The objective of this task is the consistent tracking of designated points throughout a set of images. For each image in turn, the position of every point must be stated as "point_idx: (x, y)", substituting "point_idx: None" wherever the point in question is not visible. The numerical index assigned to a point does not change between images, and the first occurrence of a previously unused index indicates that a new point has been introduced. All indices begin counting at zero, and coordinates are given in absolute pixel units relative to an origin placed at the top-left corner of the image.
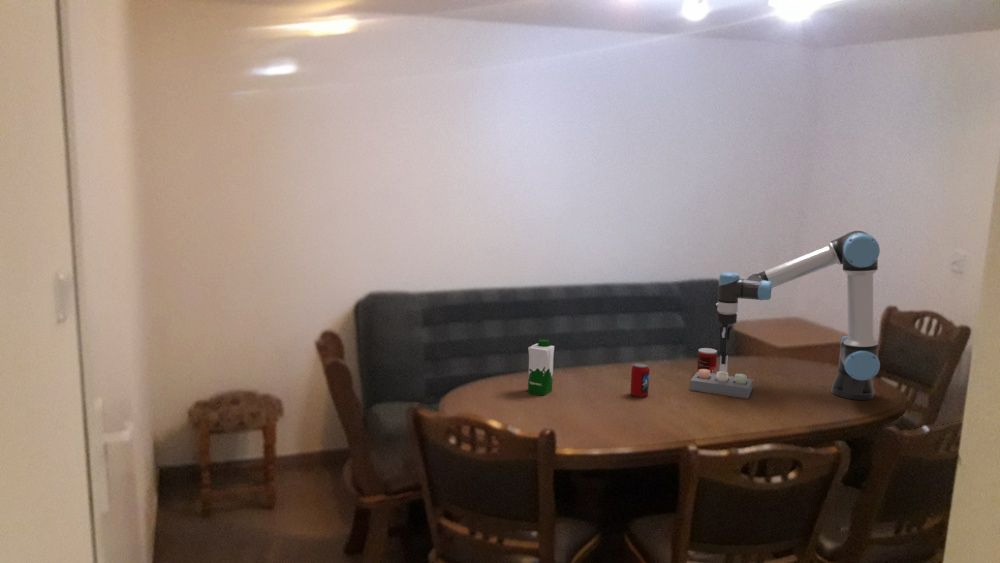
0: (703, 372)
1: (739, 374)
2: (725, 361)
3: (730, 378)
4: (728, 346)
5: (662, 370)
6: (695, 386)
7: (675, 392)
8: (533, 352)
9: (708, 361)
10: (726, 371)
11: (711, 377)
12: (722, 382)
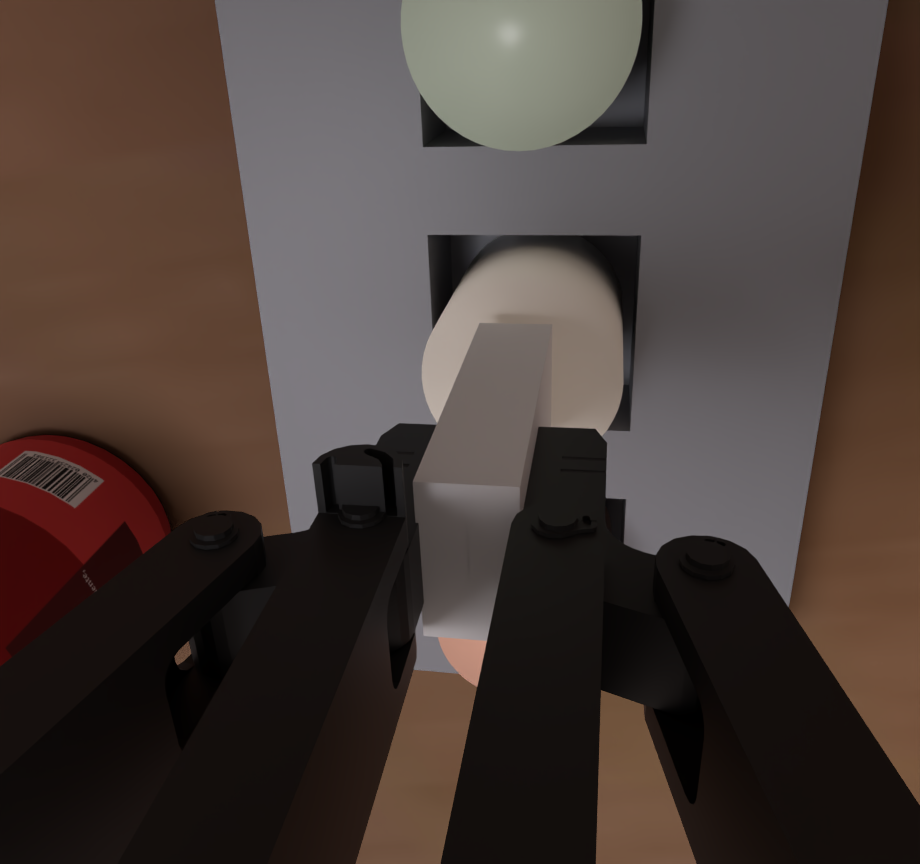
0: None
1: (464, 67)
2: (531, 449)
3: (384, 225)
4: (282, 648)
5: None
6: None
7: (912, 727)
8: None
9: (46, 629)
10: (548, 328)
11: None
12: (689, 309)
